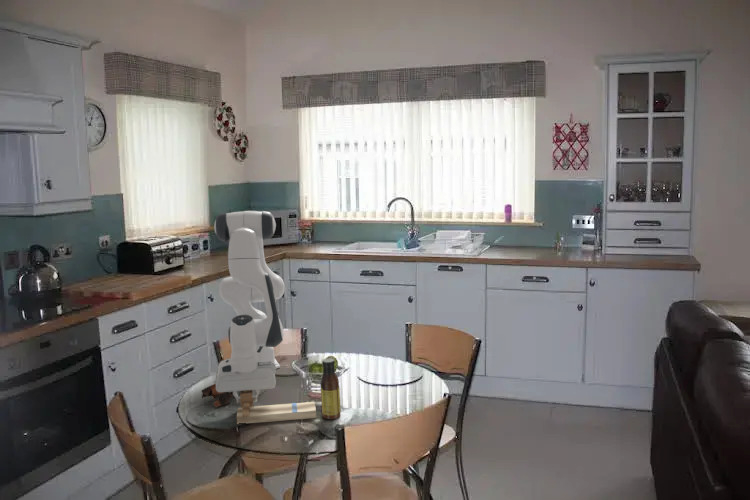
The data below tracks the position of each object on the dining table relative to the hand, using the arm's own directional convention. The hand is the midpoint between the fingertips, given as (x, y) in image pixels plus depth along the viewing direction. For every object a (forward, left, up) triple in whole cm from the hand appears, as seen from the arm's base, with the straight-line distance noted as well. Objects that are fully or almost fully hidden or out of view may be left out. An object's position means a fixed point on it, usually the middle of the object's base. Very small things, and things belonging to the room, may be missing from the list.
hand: (247, 401), depth 234 cm
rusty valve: (-10, -10, -3) cm, 14 cm away
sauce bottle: (+11, +28, -3) cm, 30 cm away
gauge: (+5, 0, -3) cm, 6 cm away
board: (+7, +10, -3) cm, 13 cm away
